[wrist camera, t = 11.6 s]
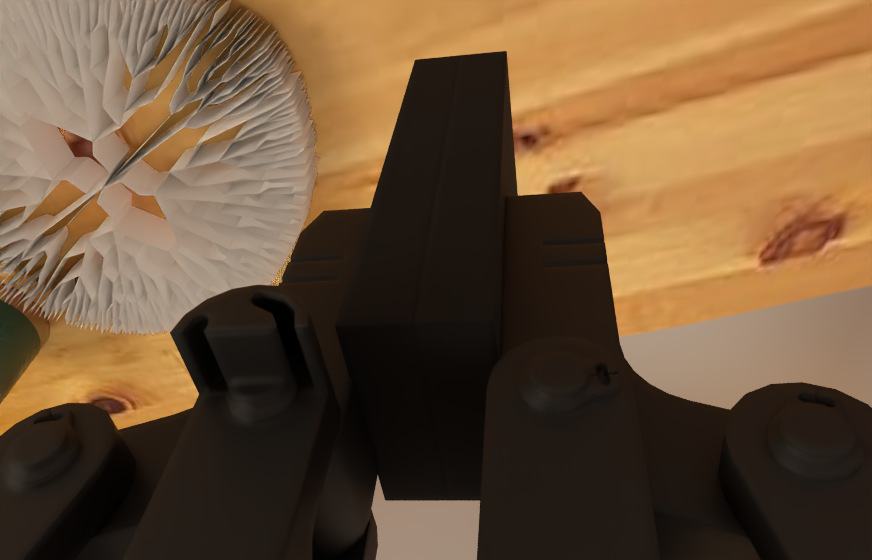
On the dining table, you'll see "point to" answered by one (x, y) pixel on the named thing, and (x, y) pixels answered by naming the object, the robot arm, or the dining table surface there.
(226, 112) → the spiky fractal disc
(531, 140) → the dining table surface
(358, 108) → the dining table surface
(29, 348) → the bean tin
